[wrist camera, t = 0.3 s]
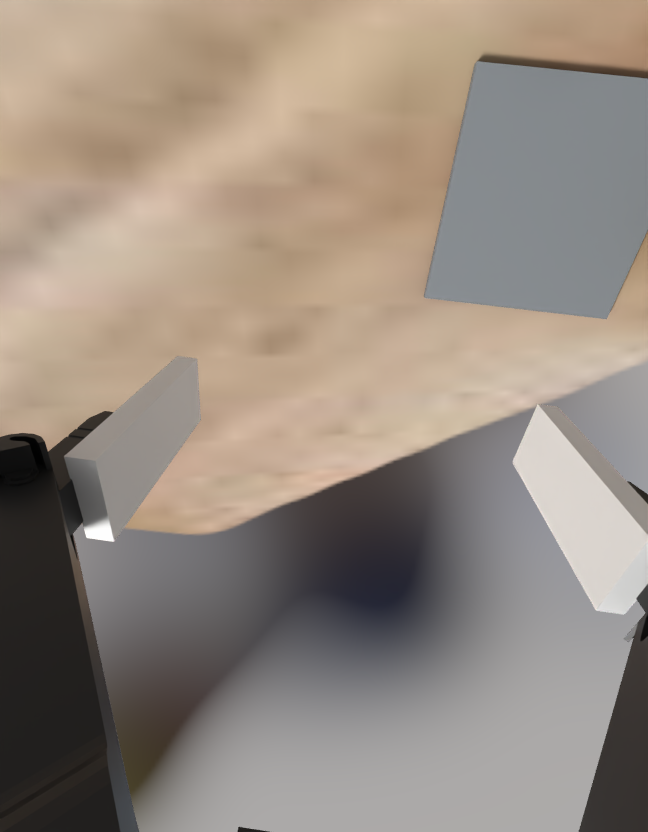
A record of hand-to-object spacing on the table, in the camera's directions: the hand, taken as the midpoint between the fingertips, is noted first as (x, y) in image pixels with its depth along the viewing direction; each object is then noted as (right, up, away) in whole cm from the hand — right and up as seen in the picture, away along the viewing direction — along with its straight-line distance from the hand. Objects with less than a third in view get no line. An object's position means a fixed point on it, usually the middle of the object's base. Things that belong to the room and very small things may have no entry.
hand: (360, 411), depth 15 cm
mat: (+19, +19, +20) cm, 33 cm away
